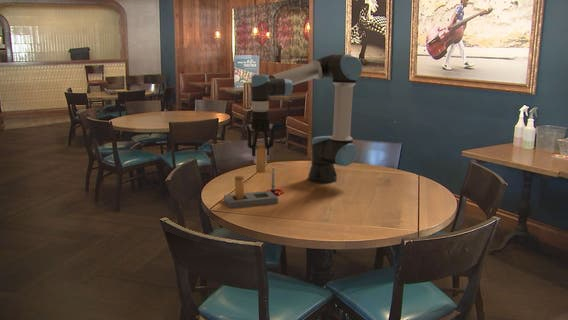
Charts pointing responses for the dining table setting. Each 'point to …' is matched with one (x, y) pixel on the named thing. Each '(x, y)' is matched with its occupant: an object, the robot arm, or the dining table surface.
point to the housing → (251, 199)
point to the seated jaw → (239, 187)
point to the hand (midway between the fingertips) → (260, 162)
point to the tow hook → (274, 186)
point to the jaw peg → (260, 158)
